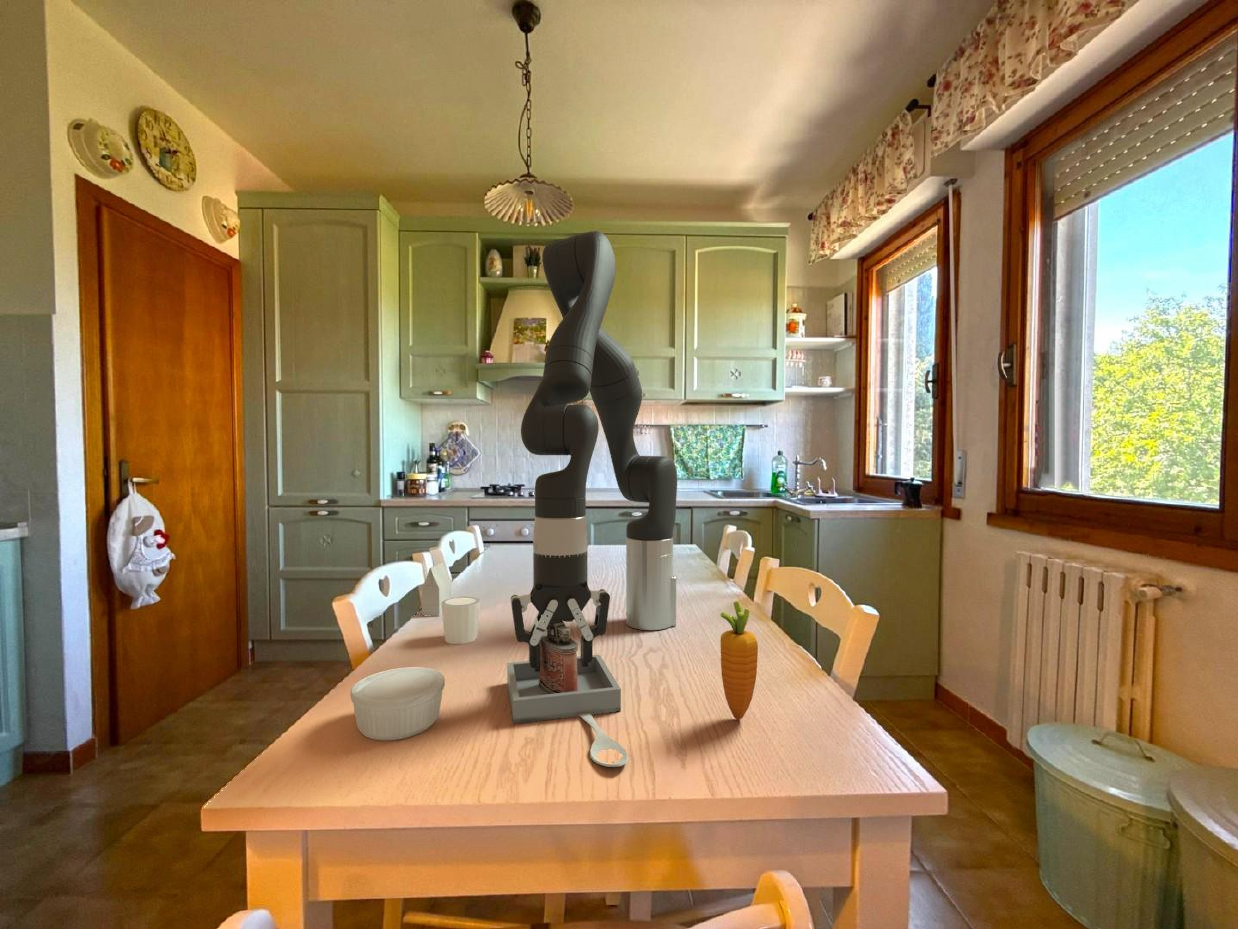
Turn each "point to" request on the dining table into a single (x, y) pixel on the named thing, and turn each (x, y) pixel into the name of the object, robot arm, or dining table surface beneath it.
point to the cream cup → (460, 619)
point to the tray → (536, 705)
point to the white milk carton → (436, 590)
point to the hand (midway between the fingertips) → (560, 667)
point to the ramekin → (397, 702)
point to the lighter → (558, 660)
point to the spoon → (603, 743)
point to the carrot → (738, 662)
